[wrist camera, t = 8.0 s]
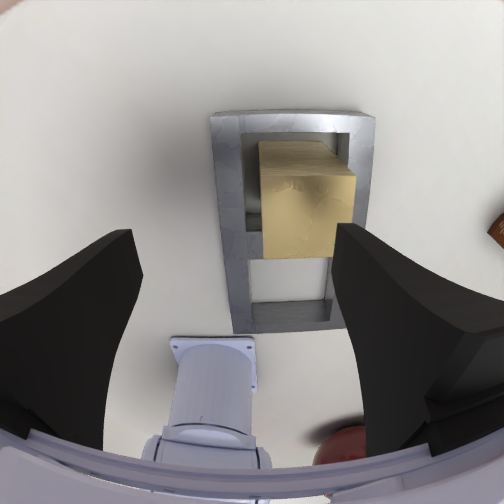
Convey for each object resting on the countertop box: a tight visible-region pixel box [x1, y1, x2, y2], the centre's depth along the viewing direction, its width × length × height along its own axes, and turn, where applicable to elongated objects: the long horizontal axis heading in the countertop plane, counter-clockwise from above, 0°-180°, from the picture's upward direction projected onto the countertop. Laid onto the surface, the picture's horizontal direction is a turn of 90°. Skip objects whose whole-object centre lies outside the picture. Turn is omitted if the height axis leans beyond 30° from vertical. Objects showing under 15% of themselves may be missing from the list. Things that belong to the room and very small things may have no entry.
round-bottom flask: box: [312, 426, 366, 499], centre depth 32 cm, size 13×13×20 cm
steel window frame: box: [210, 109, 375, 334], centre depth 20 cm, size 16×9×2 cm, turn 3°
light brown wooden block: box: [258, 141, 356, 259], centre depth 16 cm, size 4×4×7 cm
